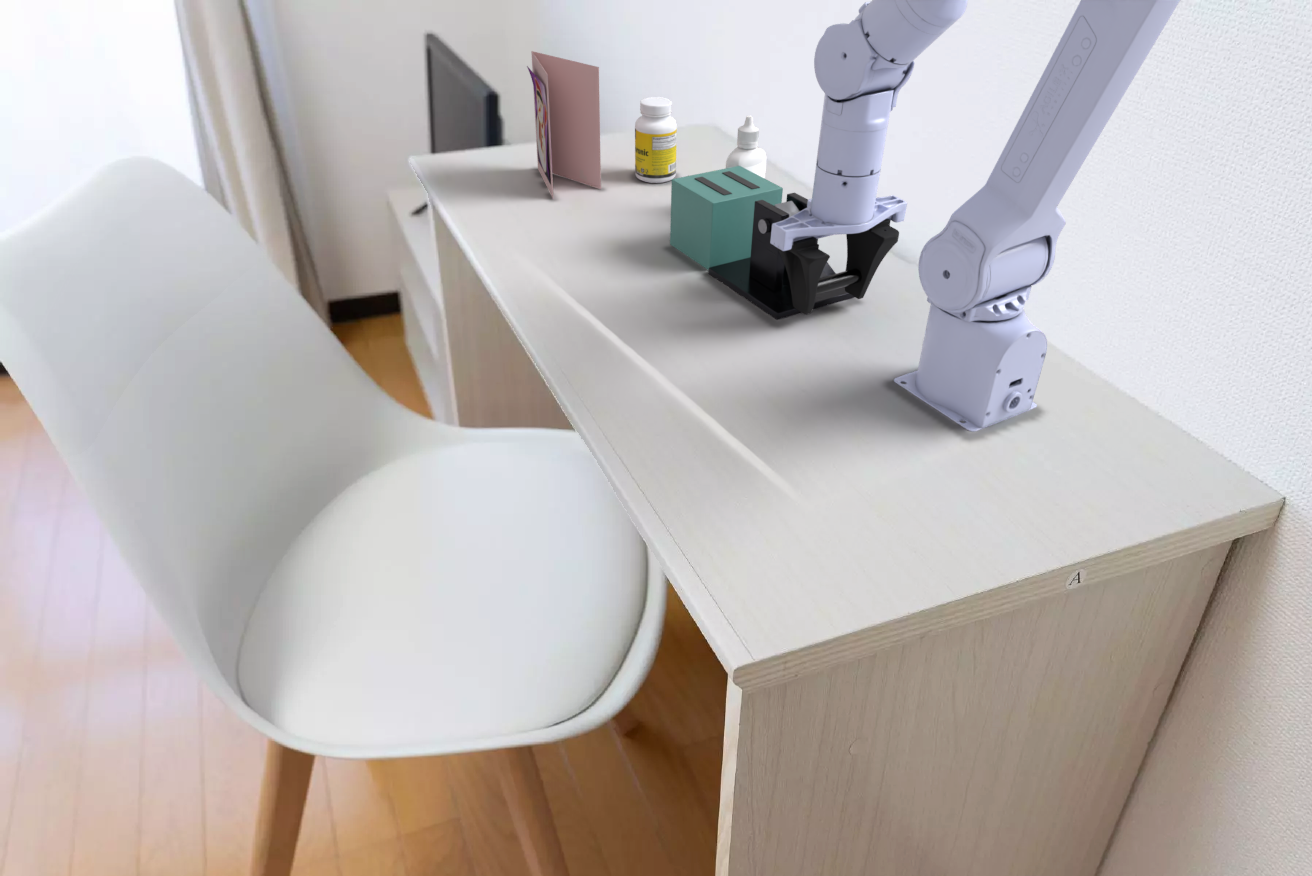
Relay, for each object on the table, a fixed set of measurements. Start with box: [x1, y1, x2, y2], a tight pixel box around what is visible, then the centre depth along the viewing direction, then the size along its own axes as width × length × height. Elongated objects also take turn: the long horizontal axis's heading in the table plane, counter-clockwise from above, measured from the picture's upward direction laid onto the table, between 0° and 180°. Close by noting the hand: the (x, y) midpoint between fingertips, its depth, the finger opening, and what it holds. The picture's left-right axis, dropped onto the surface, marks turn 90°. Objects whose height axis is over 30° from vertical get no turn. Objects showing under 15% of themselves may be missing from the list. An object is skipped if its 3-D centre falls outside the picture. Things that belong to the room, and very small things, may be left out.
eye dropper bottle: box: [725, 115, 767, 179], centre depth 113 cm, size 4×6×12 cm
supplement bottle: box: [634, 96, 678, 184], centre depth 125 cm, size 5×5×10 cm
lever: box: [774, 201, 862, 295], centre depth 94 cm, size 11×6×2 cm, turn 31°
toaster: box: [669, 166, 784, 271], centre depth 105 cm, size 8×9×8 cm
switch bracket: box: [707, 192, 855, 321], centre depth 98 cm, size 12×10×9 cm
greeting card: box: [526, 50, 602, 199], centre depth 121 cm, size 11×7×15 cm, turn 15°
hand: (828, 301), depth 94 cm, fingers closed on lever, 6 cm apart
